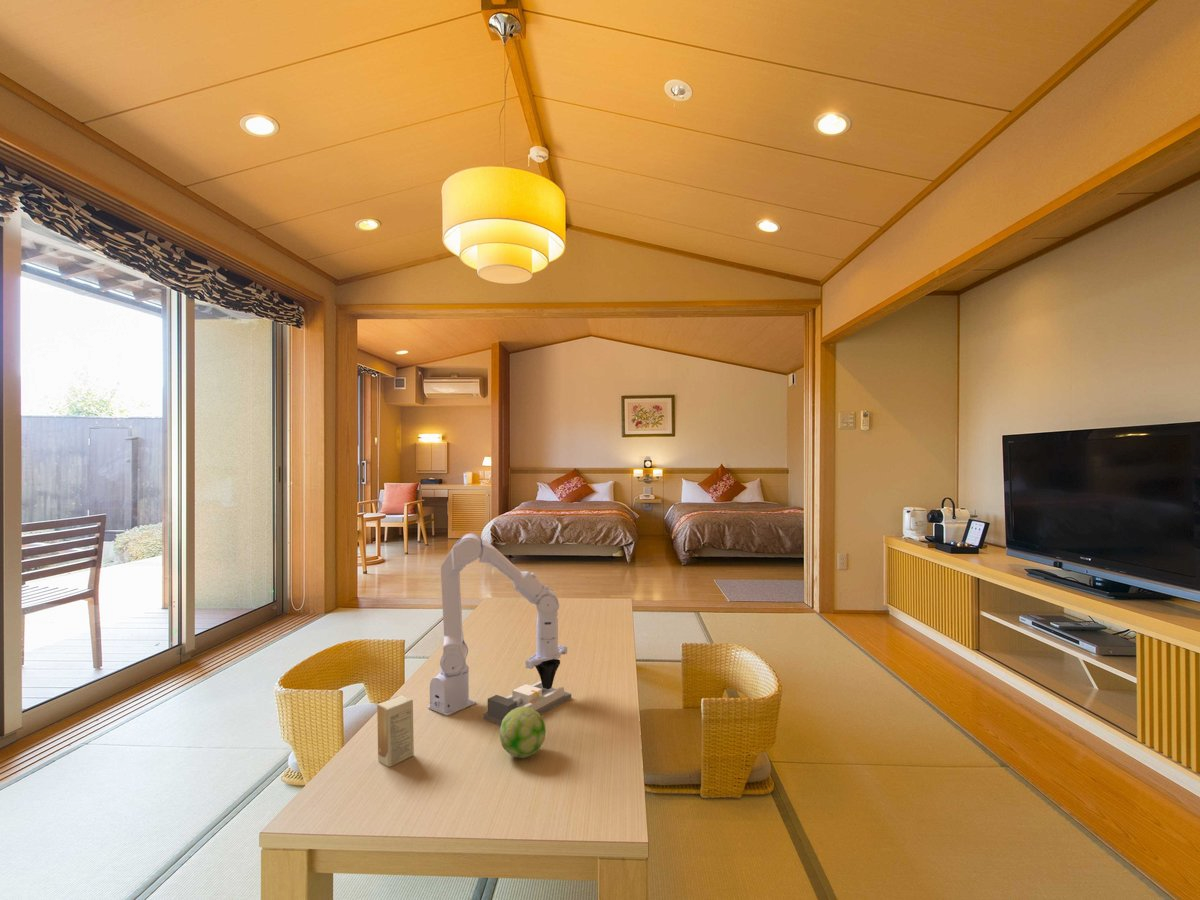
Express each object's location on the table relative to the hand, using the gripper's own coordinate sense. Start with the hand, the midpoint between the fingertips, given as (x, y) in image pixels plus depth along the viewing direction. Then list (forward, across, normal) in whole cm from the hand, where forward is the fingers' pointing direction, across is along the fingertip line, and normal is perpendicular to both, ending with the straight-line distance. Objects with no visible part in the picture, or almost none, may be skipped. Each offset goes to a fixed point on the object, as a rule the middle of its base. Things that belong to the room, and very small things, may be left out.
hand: (547, 687), depth 154 cm
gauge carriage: (+2, -9, -1) cm, 9 cm away
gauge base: (+3, -7, 0) cm, 8 cm away
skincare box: (+3, -42, +6) cm, 43 cm away
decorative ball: (+3, -25, -15) cm, 29 cm away
